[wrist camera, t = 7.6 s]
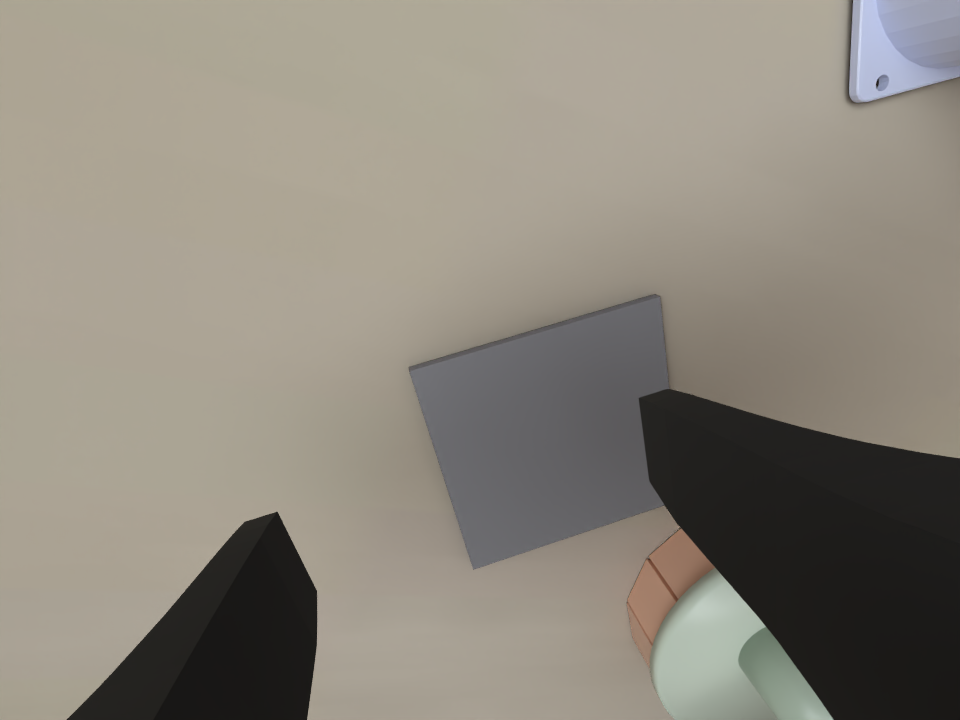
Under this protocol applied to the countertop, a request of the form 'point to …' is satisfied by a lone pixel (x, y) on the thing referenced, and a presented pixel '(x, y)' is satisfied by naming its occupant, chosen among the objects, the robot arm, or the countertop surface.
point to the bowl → (663, 587)
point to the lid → (725, 661)
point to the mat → (546, 428)
